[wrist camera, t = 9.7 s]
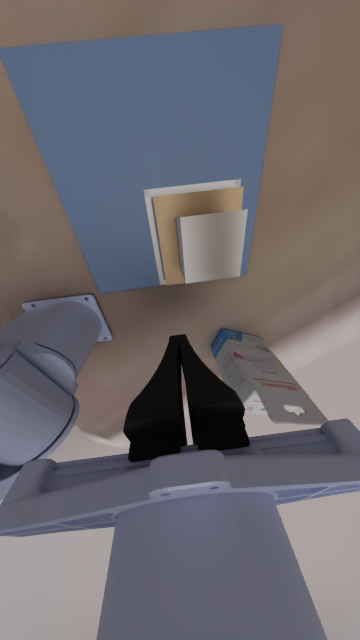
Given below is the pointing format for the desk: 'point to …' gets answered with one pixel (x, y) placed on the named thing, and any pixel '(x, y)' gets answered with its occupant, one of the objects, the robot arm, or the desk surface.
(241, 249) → the top block
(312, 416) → the ink box
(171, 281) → the base slab
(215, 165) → the board
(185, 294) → the desk surface
